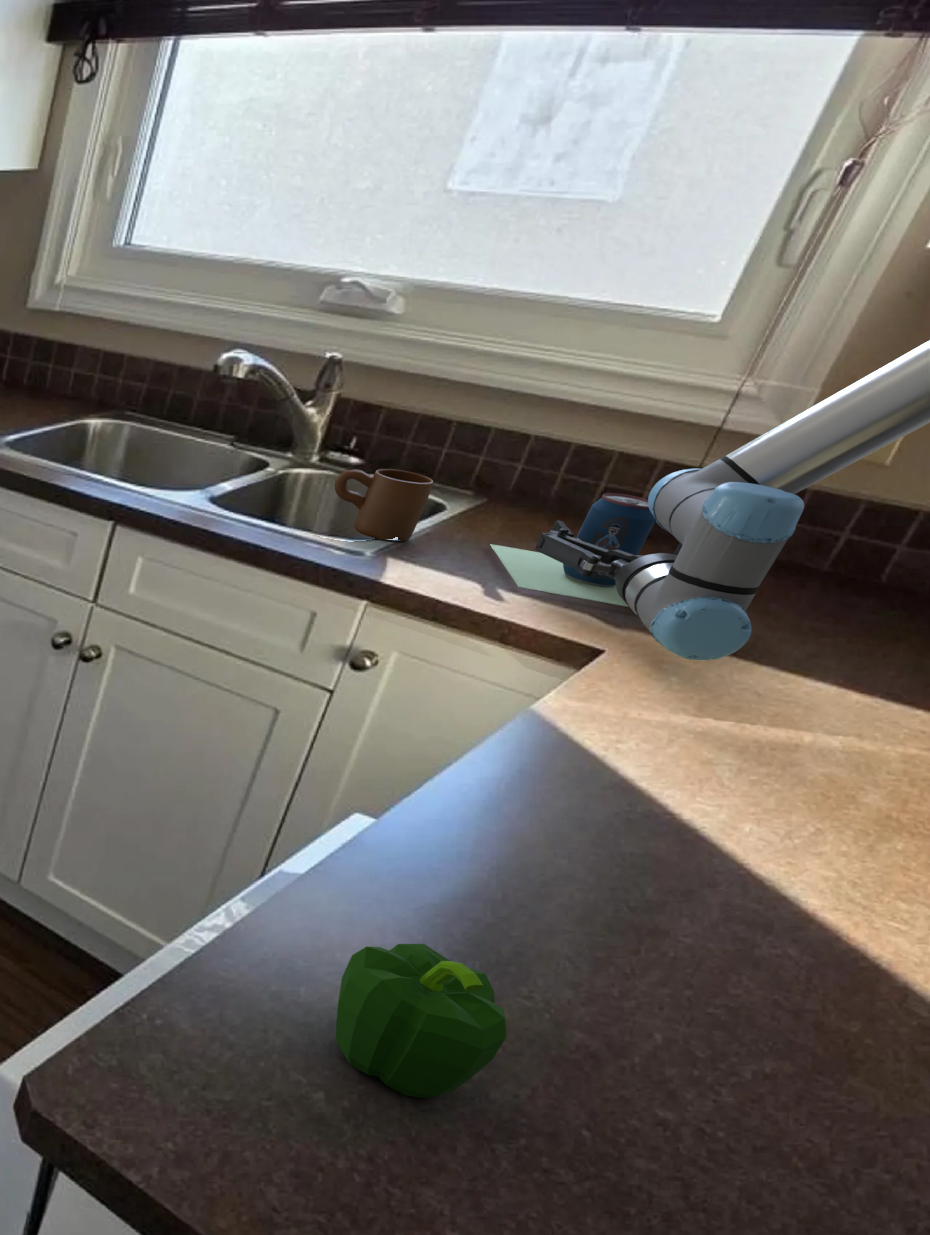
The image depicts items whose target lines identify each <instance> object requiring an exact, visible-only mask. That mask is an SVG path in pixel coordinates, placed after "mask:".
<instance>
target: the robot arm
mask: <svg viewBox="0 0 930 1235" xmlns="http://www.w3.org/2000/svg"><path fill="white" fill-rule="evenodd" d="M928 424H930V339H929V340H928V341H926V342H924V343H922V344H920V345H919V346H917V347H915V348H913V349H912V350H910V351H908V352H906V353H904V354H903V355H901V356H899V357H897V358H896V359H894V360H893V361H891V362H889V363H887V364H885V365H884V366H882V367H880V368H878V369H877V370H874V371H873V372H871V373H869V374H868V375H866V376H864V377H862V378H860V379H859V380H857V381H855V382H853V383H851V384H850V385H848V386H847V387H845V388H842V389H841V390H839V391H838V392H836V393H833V395H830V396H829V397H827V398H825V399H824V400H822V401H820V402H818V403H816V404H815V405H813V406H811V407H810V408H807V409H806V410H804V411H802V412H801V413H798V414H797V415H795V416H794V417H792V418H789V419H787V421H785V422H783V423H781V424H779V425H778V426H776V427H774V428H772V429H771V430H769V431H767V432H766V433H764V434H762V435H760V436H758V437H756V438H754V439H752V440H751V441H749V442H748V443H746V444H744V445H742V446H740V447H739V448H737V449H735V450H733V451H732V452H730V453H728V454H727V455H724V456H723V457H720V458H719V459H717V460H715V461H714V462H712V463H710V464H708V465H706V466H705V467H703V468H697V467H696V468H686V469H682V470H678V471H674V472H671V473H669V474H667V475H664V477H662V478H661V479H659V480H658V481H657V482H656V483H655V484H654V486H652V488H651V490H650V492H649V494H648V497H647V500H648V506H649V509H650V511H651V513H652V515H653V516H654V517H655V519H656V521H655V523H656V524H657V525H658V526H659V527H660V528H662V529H663V530H664V531H667V532H669V533H670V534H671V535H672V536H673V537H674V538H675V539H676V540H677V541H678V545H677V547H676V549H675V551H674V552H673V553H666V552H665V553H664V552H658V553H650V554H646V555H641V554H638V555H633V554H630V553H627V552H624V551H621V550H607V549H604V548H601V547H598V546H595V545H593V544H590V543H587V542H584V541H581V540H579V539H576V537H575V534H574V533H573V532H572V530H571V529H570V528H569V527H568V526H567V524H565V522H564V521H563V520H558V519H556V520H555V521H554V524H553V525H552V528H551V529H550V531H549V532H541V535H540V536H539V539H538V541H537V543H536V545H535V547H534V550H535V552H539V553H542V554H544V555H547V556H549V557H551V558H553V559H555V560H557V561H559V562H561V563H563V564H565V565H567V566H569V567H571V568H574V569H575V570H577V571H578V572H579V573H580V574H582V575H584V576H592V574H593V572H594V571H598V573H599V574H601V575H604V576H607V577H609V578H612V579H615V583H616V589H617V592H618V594H619V596H620V597H621V598H622V599H623V600H624V602H625V603H626V604H627V605H628V606H629V607H628V608H630V609H631V610H632V612H633V613H634V614H635V615H636V616H637V617H638V618H639V620H640V621H641V623H642V624H643V625H644V626H645V627H646V628H647V630H648V631H649V633H651V636H652V638H653V639H654V640H655V642H657V643H658V644H660V645H661V646H663V648H665V649H666V650H668V651H669V652H670V653H672V654H673V655H676V656H677V657H680V658H684V659H686V660H690V661H702V662H703V661H712V660H719V659H721V658H725V657H728V656H730V655H732V654H735V652H738V651H739V650H740V649H741V648H742V647H744V646H745V645H746V643H747V642H748V641H749V639H750V637H751V635H752V622H751V620H750V617H749V613H748V612H747V609H748V608H749V606H750V605H751V603H752V601H753V599H754V598H755V596H756V594H757V591H758V590H759V588H760V586H761V584H762V582H763V581H764V579H765V578H766V576H767V574H768V572H769V571H770V569H771V568H772V566H773V565H774V563H775V561H776V560H777V558H778V556H779V555H780V552H781V551H782V549H783V548H784V546H785V545H786V543H787V541H788V540H789V539H790V537H792V536H793V534H794V532H795V531H796V528H797V524H798V522H799V520H800V518H801V515H802V513H803V511H804V509H805V502H804V501H803V499H802V498H801V497H800V496H799V495H797V494H798V493H800V492H801V491H803V490H805V489H807V488H809V487H811V486H813V485H815V484H817V483H818V482H820V481H822V480H824V479H826V478H828V477H830V476H831V475H833V474H835V473H837V472H839V471H841V470H843V469H845V468H846V467H849V466H850V465H852V464H854V463H856V462H858V461H860V460H862V459H864V458H865V457H867V456H869V455H871V454H873V453H875V452H877V451H879V450H881V449H882V448H884V447H887V446H888V445H890V444H892V443H894V442H896V441H898V440H900V439H901V438H903V437H905V436H907V435H909V434H911V433H913V432H916V431H917V430H919V429H920V428H923V427H924V426H926V425H928ZM618 557H621V558H624V559H619V560H617V559H618Z"/></svg>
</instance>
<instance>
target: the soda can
mask: <svg viewBox="0 0 930 1235" xmlns="http://www.w3.org/2000/svg"><path fill="white" fill-rule="evenodd" d="M655 523H656V519H655V517H654V516H653V515H652V513H651V511H650V509H649V506H648V498H647V499H646V498H643V497H640V496H635V495H631V494H626V493H625V494H624V493H616V492H606V493H603V494H602V497H601V498H599V499H598V500H597V501H595V502H594V503H592V505H591V506H590V508H589V510H588V512H587V514H586V517H585V518H584V521H583V522H582V524H581V526H580V529H579V530H578V533H577V534H576V537H575V538H576V539H579V540H581V541H584V542H587V543H590V544H593V545H595V546H598V547H601V548H604V549H607V550H621V551H624V552H627V553H630V554H633V555H640V552H641V550H642V548H643V546H644V545H645V543H646V540H647V538H648V536H649V535H650V533H651V531H652V529H653V527H654V525H655ZM619 559H624V558H621V557H618V559H617V560H619ZM563 568H564V572H565V575H566V576H567V577H569V578H571V579H573V580H575V581H578V582H581V583H585V584H589V585H594V586H600V587H613V586H615V585H616V583H615V579H612V578H609V577H607V576H604V575H601V574H599V573H598V571H594V572H593V574H592V576H584V575H582V574H580V573H579V572H578V571H577V570H575V569H574V568H571V567H569V566H567V565H565V564H563Z"/></svg>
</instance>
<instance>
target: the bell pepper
mask: <svg viewBox="0 0 930 1235" xmlns="http://www.w3.org/2000/svg"><path fill="white" fill-rule="evenodd" d="M340 982H341V983H340V988H339V993H338V1000H337V1009H336V1010H337V1011H336V1021H335V1022H336V1023H335V1024H336V1025H335V1041H336V1044H337V1045H338V1048H339V1050H340V1051H341V1053H342V1054H343V1056H344V1058H345V1059H346V1061H347V1062H348V1064H349V1065H350V1066H352V1067H354V1068H355V1069H357V1070H358V1071H360V1072H362V1073H364V1074H365V1075H368V1076H372V1077H376V1078H379V1079H380V1080H381V1082H382V1083H383V1084H385V1086H387V1087H389V1088H391V1089H392V1090H395V1091H397V1092H398V1093H400V1094H401V1095H404V1096H407V1097H413V1098H421V1099H431V1098H436V1097H437V1098H438V1097H441V1096H443V1095H446V1094H449V1093H452V1092H454V1091H456V1090H457V1089H459V1087H461V1086H463V1085H464V1084H465V1083H467V1082H468V1081H469V1080H470V1079H472V1078H473V1077H474V1076H476V1075H477V1074H478V1073H479V1072H480V1071H481V1070H483V1068H485V1067H486V1066H488V1064H489V1063H490V1062H492V1061H493V1060H494V1058H495V1056H496V1055H497V1053H498V1052H499V1050H500V1048H501V1047H502V1045H503V1043H504V1042H505V1040H506V1038H507V1023H506V1015H505V1014H506V1013H505V1008H503V1007H502V1006H500V1005H498V1004H496V1002H495V1000H496V999H495V990H494V988H493V987H492V984H491V982H490V979H489V978H488V975H487V973H485V972H482V971H479V970H476V969H473V968H471V967H467V966H466V965H465V964H464V963H462V962H457V961H451V960H450V959H448V958H447V957H445V956H444V955H442V954H441V953H439V952H438V951H436V950H434V949H433V948H431V947H430V946H428V945H426V944H425V943H397V944H396V945H395V946H394V947H392V948H391V949H390V950H389V949H386V948H383V947H381V946H364V947H363V948H361V949H360V950H358V951H356V952H355V953H353V954H352V955H351V957H350V959H349V961H348V963H347V966H346V968H345V970H344V972H343V974H342V977H341V981H340Z"/></svg>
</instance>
